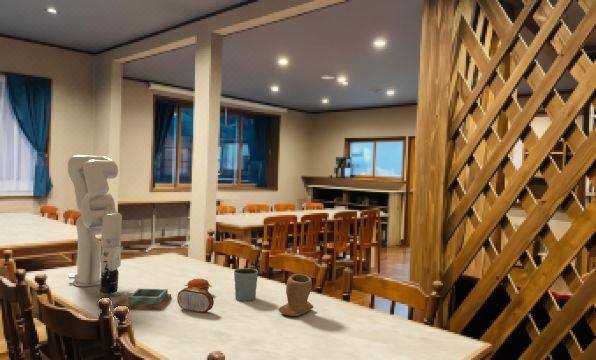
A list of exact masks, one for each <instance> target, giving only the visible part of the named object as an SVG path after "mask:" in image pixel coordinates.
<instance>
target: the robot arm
mask: <svg viewBox="0 0 596 360" xmlns="http://www.w3.org/2000/svg"><path fill="white" fill-rule="evenodd" d="M67 172H68V176H69V178H70V180H71V183H72V184H73V188H74V194H75V203H76V206H77V209H78V212H80V214H81V215H80V216H78V218H77V219H76V222H75V224H76V227H75V228H76V234H77V266H76V267H77V269H76V273H69V274H68V277H67V278H68V279H69V280H72V279H73V282H72V285H73V286H76V287H82V288H84V287H85V288H86V287H94V286H100V280H101V278H102V282H101V287H105V288H109V287H110V278H109V276H110V271H114V270H115V269H117V270H118V268H120V267H121V263H122V262H121V261H122V260H121V259H122V258H121V257H122V255H121V252H122V251H121V245H122V224H123V222H122V221H123V215H122V214H121V213H119V212H118V211H117V209H116V203H115V200H114V197H113V195H112V194H110V193H108V192H109V190H110V187H109V183H108V180H110V179H113V180H114V179H115V178H117V177H118V174H119V166H118V165H117V163H116V162H115V161H114V160H113V159H111V158H109V157H108V156H103V155H86V154H77V155H73V156H71V157H69V158H68V162H67ZM107 179H108V180H107ZM97 236H101V237H100V238H101V239H100V240H99V239H98V238H97ZM106 269H109V270H106ZM106 272H108V274H107V273H106ZM101 275H102V276H101Z"/></svg>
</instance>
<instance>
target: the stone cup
mask: <svg viewBox="0 0 596 360" xmlns="http://www.w3.org/2000/svg"><path fill="white" fill-rule="evenodd" d="M287 278H288V279H287V280H286V287H285V293H286V298H287V303H286V304H284V305H282V306H280V307H278V309H277V310H278V312H279V313H280V314H283V315H286V316H289V317H299V316H301V315H303V314H305V313H307V312H309V311H310V310H312V309H314V305H313V304H312V303H311V302H310V301H308V299H309V296H310V295H311V294H310V293H311V291H312V287H313V280H312V278H311V277H310V276H309V275H308V274H307V275H306V274H304V273H294V274H291V275H289V276H288V277H287Z"/></svg>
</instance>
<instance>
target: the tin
mask: <svg viewBox="0 0 596 360" xmlns="http://www.w3.org/2000/svg"><path fill="white" fill-rule="evenodd" d="M176 299H177V300H176V301H177V304H178V306H179V307H180V308H181V309H182V310H185V311H190V312H195V313H201V314H204V313H206V312H209V311H210V310H211V309H213V307H214V304H215V303H214V302H215V300H214V297H213V295H212V293H210V292H209V290H208V291H206V290H201V289H195V288H189V287H188V286H186V287H184V288H182V289H181V290H180V291H178V293H177V298H176Z"/></svg>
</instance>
